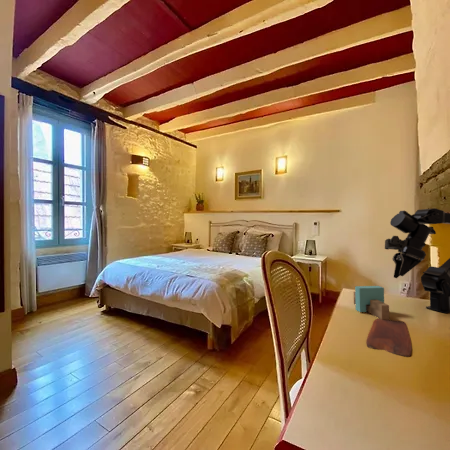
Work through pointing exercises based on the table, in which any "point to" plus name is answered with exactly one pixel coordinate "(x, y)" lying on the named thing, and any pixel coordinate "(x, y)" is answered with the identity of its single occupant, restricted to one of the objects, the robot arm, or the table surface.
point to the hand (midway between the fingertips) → (397, 276)
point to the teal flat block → (367, 296)
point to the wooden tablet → (390, 337)
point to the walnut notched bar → (377, 309)
